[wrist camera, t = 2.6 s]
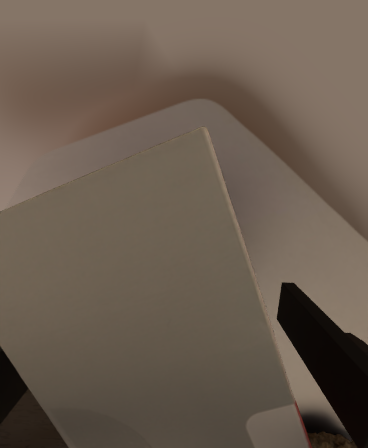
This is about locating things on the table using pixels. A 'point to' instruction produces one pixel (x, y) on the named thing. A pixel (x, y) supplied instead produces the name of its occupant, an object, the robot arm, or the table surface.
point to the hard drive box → (144, 309)
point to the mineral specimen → (329, 441)
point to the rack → (29, 427)
